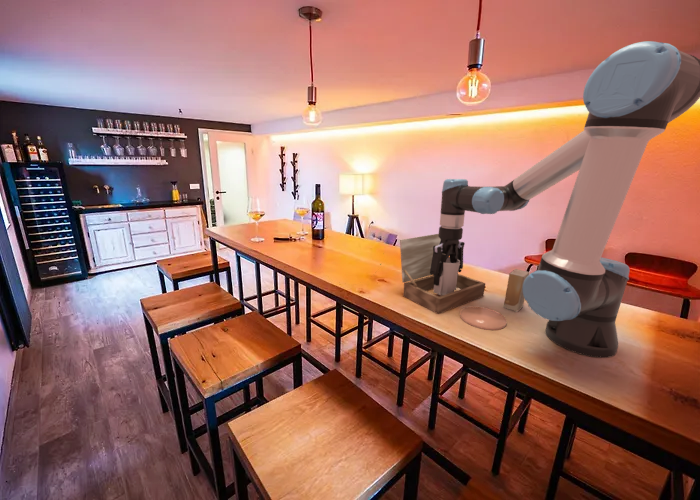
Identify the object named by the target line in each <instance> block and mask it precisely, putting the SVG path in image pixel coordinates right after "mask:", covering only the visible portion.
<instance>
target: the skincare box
mask: <svg viewBox="0 0 700 500" xmlns="http://www.w3.org/2000/svg"><path fill="white" fill-rule="evenodd" d="M528 275H530V272H529V271H526V270H522V269H517V268H515V269H513V270H512V271H511V272H509V274H508V280H507V286H506V291H505V292H506V293H505V297H504V303H503V308H504V309H507V310H510V311H513V312H518V313H519V311H520V310H522V309H521V308H523V306H524V302H525V299H524V296H523V290H522V288H523V283H524V280H525V279H526V277H527V276H528Z"/></svg>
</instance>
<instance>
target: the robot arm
mask: <svg viewBox="0 0 700 500" xmlns="http://www.w3.org/2000/svg"><path fill="white" fill-rule="evenodd" d="M582 97H583V98H582V100H583V104H584V105H585V108H586V110H587V111H588V114H587V118H586V120H585V121H586V122H585V124H584V128H583V131H581V132H580V133H578V134H576V136H574V137H572V138H571V139H570V140H568V141H566V142H565V143H564V144H562V145H561V146H560V147H558V148H557V149H555V150H553V152H551V153H550V154H548V155H546V157H544V158H542V159H541V160H540V161H538V162H537V163H535V164H534V165H533V166H531V167H530V168H528V169H527V170H526V171H524V172H523V173H521V174H520V175H519V176H516V177H515V178H514V179H513V180H511V181H510V182H508V183H507V184H505V185H501V186H498V185H497V186H496V185H495V186H474V185H473V186H471V185H469V181H468V179H465V178H445V180H444V181H443V184H442V189H441V200H440V201H441V202H440V203H441V204H440V216H439V217H440V218H439V228H438V234H439V235H438V236H439V238H440V239H441V241H440V244H439V245H438V246H435V245H434V246H433V257H432V263H431V268H430V274H432V275H434V289H433V292H432V294H435V295H437V296H441V290H442V280H443V276H441V274H442V271H443V263H446V260H447V258H448V257H450V262H451V263H457V259H458V260H460V265H459V270H458V273H461V272H462V270H463V268H464V247H465V241H464V242H463V241H460V240H461V239H462V238H463V234H464V233H463V232H464V228H463V227H464V224H465V214H466V211H467V212H471V213H477V214H480V215H485V214H486V215H493V214H494V215H495V214H497V212H507V211H509V212H514V211H518V210H522V209H523V208H525V207H526V206H527V205H528V203H529V202H530V200H531V199H533V198H535V197H536V196H538V195H540V194H541V193H543V192H545V191H547V190H549V189H550V188H551V187H553V186H555V185H556V184H558V183H560V182H561V181H564V180H565V179H567V178H569V177H570V176H572V175H573V174H575V173H577V172H578V174H577V177H576V179H575V183H574V185H573V188H572V191H571V193H570V197H569V199H568V203H567V205H566V209H565V212H564V215H563V218H562V220H561V222H560V223H561V224H560V226H559V228H558V232H557V235H556V239H555V241H554V244H553V247H552V249H551V250H548V251H546V252H544V253H543V254H542V256H541V257H540V261H539V263H538V268H537V270H535V271H533V272H531V273H529V275H528V276H527V277H526V279H525V280H524V283H523V288H522V290H523V296H524V301H526V303H527V305H528V307H529V308H530V309H531V310H532V311H533V312H534V313H535V314H537V316H540V317H541V318H543V319H545V320H548V321H547V323H546V327H545V331H544V333H545V335H546V336H547V337H548V339H549V340H551V341H552V342H553V343H555V344H556V345H558V346H559V347H562V348H564V349H566V350H568V351H571V352H573V353H577V354H580V355H584V356H587V357H592V358H600V359H601V358H610V357H611V358H612V357H613V356H615V355H616V354H617V351H618V347H619V339H618V332H617V326H616V320H617V317H618V314H619V311H620V306H621V303H622V300H623V296H624V293H625V292H626V291H625V290H626V286H627V284H628V281H629V280H630V277H629V276H630V266H629V265H627V264H626V263H624V262H621V261H618V260H615V259H610V258H606V257H602V256H603V253H604V250H605V249H606V246H607V244H608V240H609V239H610V236H611V234H612V231H613V229H614V227H615V224H616V222H617V219H618V218H619V214H620V212H621V209H622V208H623V204H624V202H625V200H626V196H627V195H628V193H629V190H630V188H631V185H632V183H633V180H634V177H635V175H636V172H637V170H638V168H639V166H640V163H641V160H642V159H643V156H644V154H645V150H646V148H647V146H648V143H649V141H651V140H652V139H654V138H655V137H658V136H659V135H661V134H663V133H664V132H665V131H666V128H667V126H668V124H669V123H671V122H672V121H674V120H675V119H677V118H679V117H680V116H682V115H683V114H684V113H685V112H687V111H688V110H689V109H691V107H693V106H694V105H695V104H696V103H697V102H698V101H699V99H700V59H699V58H698V57H697V56H695V55H692V54H689V53H686V52H684V51H682V50H679V49H678V48H677V47H676V46H675V45H672V44H671V43H667V42H661V41H660V42H658V41H653V40H650V41H639V42H635V43H632V44H628V45H626V46H624V47H622V48H620V49H618V50H616V51H615V52H613V53H612V54H610V55H609V56H608V57H607V58H605V59H604V60H602V61H601V63H599V64H598V65H597V66H596V68H594V69H593V71H592V73H591V74H590V75H589V77H588V78H587V81H586V83H585V86H584V90H583V95H582ZM442 253H443V254H442ZM444 254H446V255H444ZM438 272H439V273H438ZM457 278H458V275H457ZM456 284H457V280H456ZM454 291H457V287H456V285H455V290H454Z"/></svg>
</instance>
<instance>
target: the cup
mask: <svg viewBox="0 0 700 500" xmlns="http://www.w3.org/2000/svg"><path fill="white" fill-rule="evenodd" d="M459 265H460V260H458V259H457V263H451V262H450V256H449V257H448V258H447V260H446V263H443V271H442V274H441V276H443V280H442V290H441V295H440V296H443V295H446V294H449V293H452V292H455V291H456V290H455V285H456V280H457V275H458V274H459V272H458V270H459ZM438 273H439V272H438Z"/></svg>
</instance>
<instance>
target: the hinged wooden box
mask: <svg viewBox="0 0 700 500" xmlns="http://www.w3.org/2000/svg"><path fill="white" fill-rule="evenodd" d="M438 235H439V233H434V234H428V235H423V236H417V237H415V236H414V237H410V238H402V239H399V247H400V248H399V249H400V260H401V261H400V263H401V267H400V268H401V279H402V280H401V281H402V283H403V294H402V297H404V298H406V299H408V300H409V301H412V302H414V303H416V304H418V305H420V306H421V307H424V308H426V309H427V310H430V311H431V312H434V313H436V314H438V315H439V314H442V313H444V312H446V311H449V310H452V309H454V308H456V307H460V306H462V305H465V304H466V303H470V302H472V301H474V300H478V299H480V298H482V297H484V294H485V287H486V282H483V281H480V280H478V279H474V278H471V277H468V276H466V275H463V274H460V273H458V278H457V284H456V289H458V290H454V292H452V293H449V294H446V295H443V296H441V295H437V294H435V293H433V292H429V291H431V290H434V275H432V274H430V268H431V263H432V257H433V246H434V245H435V246H438V245H439V244H440V241H441V239H440V238H439V236H438ZM442 254H443V253H442ZM444 255H446V254H444Z"/></svg>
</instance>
